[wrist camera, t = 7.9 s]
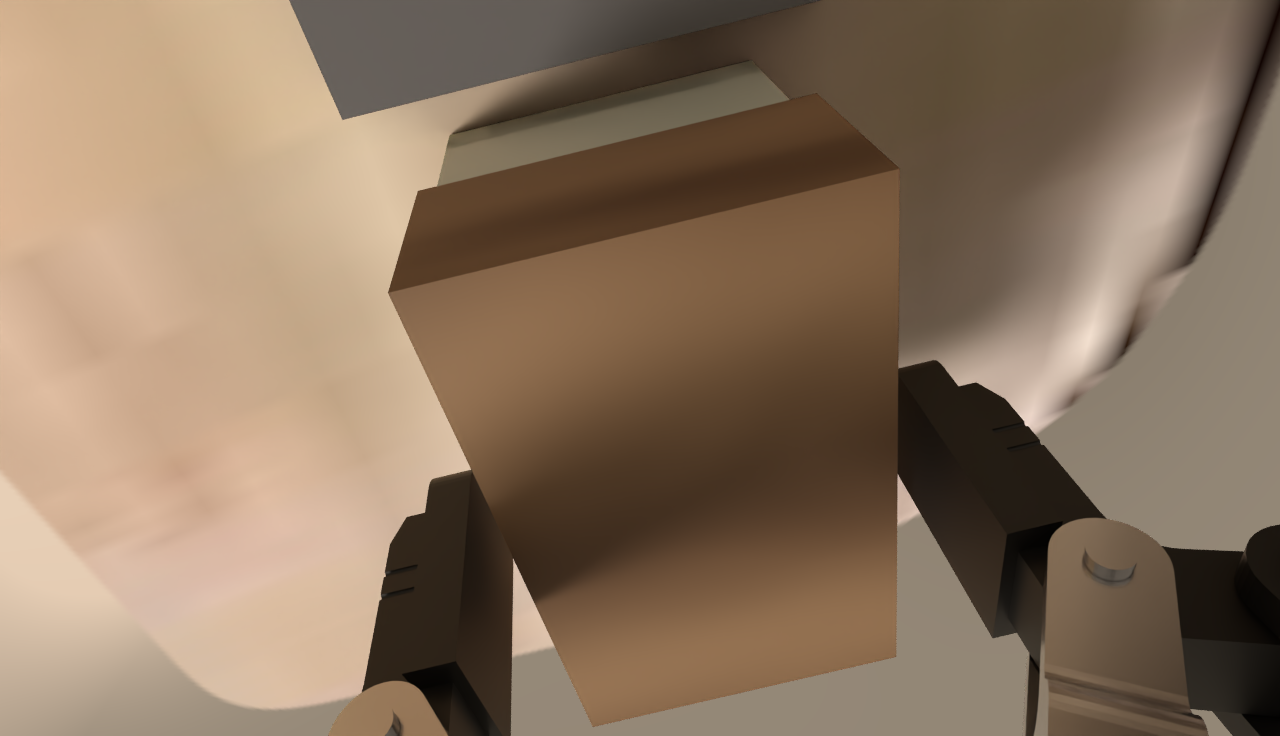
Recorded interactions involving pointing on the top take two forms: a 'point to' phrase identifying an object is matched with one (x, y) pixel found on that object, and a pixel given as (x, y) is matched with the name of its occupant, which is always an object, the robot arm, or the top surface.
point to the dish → (607, 120)
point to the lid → (679, 396)
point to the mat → (484, 39)
